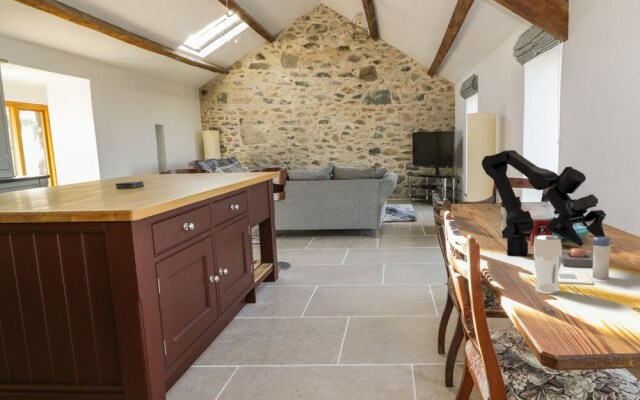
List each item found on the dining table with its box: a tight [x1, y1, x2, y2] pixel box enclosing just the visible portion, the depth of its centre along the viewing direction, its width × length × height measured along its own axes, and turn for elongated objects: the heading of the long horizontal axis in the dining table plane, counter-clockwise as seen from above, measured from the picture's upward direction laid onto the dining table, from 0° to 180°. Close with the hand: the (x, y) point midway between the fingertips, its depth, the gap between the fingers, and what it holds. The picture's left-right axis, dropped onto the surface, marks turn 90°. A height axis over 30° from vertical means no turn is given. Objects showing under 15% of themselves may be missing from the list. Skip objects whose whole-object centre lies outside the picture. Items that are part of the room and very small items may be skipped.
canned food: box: [530, 215, 553, 247], centre depth 173 cm, size 8×8×11 cm
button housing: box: [561, 251, 593, 268], centre depth 147 cm, size 10×10×2 cm
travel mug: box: [500, 193, 522, 238], centre depth 189 cm, size 8×8×18 cm
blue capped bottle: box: [592, 236, 611, 281], centre depth 130 cm, size 4×4×12 cm
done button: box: [570, 247, 587, 258], centre depth 147 cm, size 4×4×3 cm
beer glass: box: [532, 234, 563, 295], centre depth 122 cm, size 7×7×15 cm
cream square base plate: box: [558, 270, 594, 286], centre depth 132 cm, size 11×11×1 cm
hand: (593, 243), depth 132 cm, fingers open, 9 cm apart
